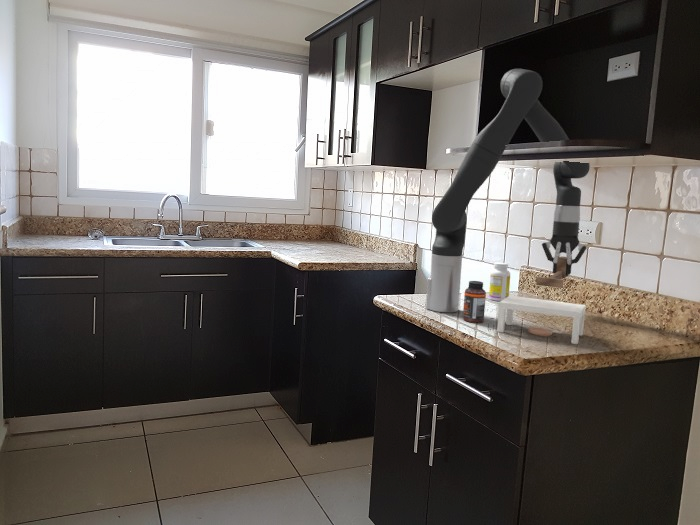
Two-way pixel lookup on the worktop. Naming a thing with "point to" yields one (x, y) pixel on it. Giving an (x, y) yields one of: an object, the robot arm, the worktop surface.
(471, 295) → the supplement bottle
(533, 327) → the terracotta coaster
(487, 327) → the worktop surface
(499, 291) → the supplement bottle
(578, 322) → the white shelf
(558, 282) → the walnut push stick
